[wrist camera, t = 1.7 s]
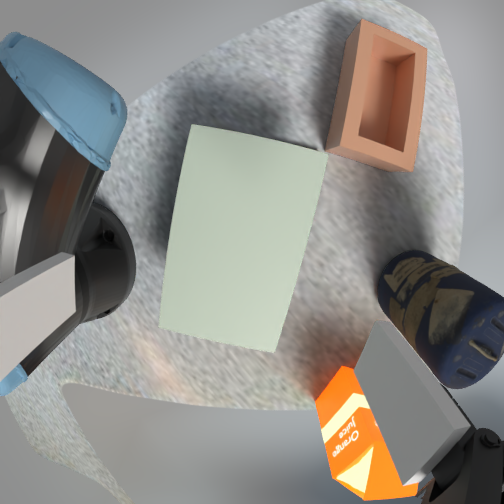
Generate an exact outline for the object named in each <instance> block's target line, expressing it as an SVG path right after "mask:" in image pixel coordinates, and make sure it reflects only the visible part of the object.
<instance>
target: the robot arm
mask: <svg viewBox="0 0 504 504" xmlns="http://www.w3.org/2000/svg"><path fill="white" fill-rule="evenodd" d="M126 120H127V107H126V104H125V101H124V99H123V98H122V97H121V95H120V94H119V93H118V92H117V91H116V90H115V89H114V88H112V87H111V86H110V85H109V84H107V83H106V82H104V81H103V80H102V79H100V78H99V77H98V76H96V75H94V74H93V73H92V72H90V71H89V70H88V69H86V68H85V67H83V66H82V65H80V64H78V63H77V62H75V61H74V60H72V59H70V58H69V57H67V56H66V55H63V54H62V53H60V52H59V51H57V50H55V49H53V48H51V47H49V46H48V45H46V44H44V43H42V42H40V41H38V40H36V39H33V38H30V37H27V36H24V35H21V34H20V33H18V32H12V33H10V34H8V35H7V36H6V37H5V39H4V40H3V41H1V42H0V396H5V395H7V394H9V393H10V392H12V391H13V390H14V389H15V388H16V387H18V386H19V385H20V384H21V383H23V382H25V381H26V380H27V379H28V378H27V377H28V376H29V375H30V374H31V373H32V372H33V371H34V370H35V369H36V368H37V366H38V365H39V364H40V363H41V362H42V361H43V360H44V359H45V358H46V357H47V356H48V355H49V354H50V353H51V352H52V351H53V350H54V349H55V348H56V347H57V346H58V345H59V344H60V343H61V342H62V341H63V340H64V339H65V338H66V337H67V336H68V335H69V334H70V333H71V332H72V331H73V330H74V329H75V328H76V327H77V326H78V325H79V324H81V323H85V322H88V321H92V320H95V319H99V318H102V317H105V316H107V315H109V314H111V313H112V312H114V311H115V310H116V309H117V308H118V307H119V306H120V305H121V304H122V303H123V302H124V301H125V300H126V299H127V297H128V296H129V294H130V292H131V290H132V287H133V284H134V281H135V275H136V260H135V254H134V249H133V246H132V243H131V240H130V238H129V235H128V233H127V231H126V230H125V228H124V226H123V225H122V224H121V222H120V221H119V220H118V219H117V217H116V216H115V215H114V214H113V213H111V212H110V211H109V210H108V209H106V208H105V207H103V206H101V205H99V204H97V203H94V202H92V201H93V199H94V196H95V194H96V191H97V189H98V186H99V184H100V182H101V179H102V177H103V175H104V172H105V171H108V170H109V168H110V166H111V163H110V159H111V156H112V154H113V151H114V149H115V147H116V144H117V142H118V140H119V137H120V135H121V133H122V131H123V128H124V126H125V123H126ZM353 372H354V374H355V376H356V378H357V380H358V383H359V385H360V387H361V389H362V391H363V394H364V396H365V398H366V400H367V402H368V405H369V407H370V409H371V412H372V414H373V416H374V418H375V421H376V423H377V425H378V428H379V430H380V432H381V435H382V437H383V439H384V442H385V444H386V446H387V449H388V451H389V454H390V456H391V458H392V461H393V463H394V466H395V468H396V471H397V473H398V476H399V478H400V481H401V483H402V486H405V485H410V484H414V483H418V482H421V480H423V479H424V478H425V477H426V476H427V475H428V474H429V473H430V472H432V474H433V476H434V478H433V479H432V480H431V481H430V482H428V484H427V485H425V486H424V487H423V488H422V489H421V490H420V491H419V492H418V493H417V494H416V495H415V497H418V496H419V495H420V494H422V493H423V492H424V491H426V492H425V494H424V496H423V497H422V498H421V499H423V500H422V503H421V504H504V492H502V486H503V485H504V441H501V439H500V438H499V436H498V435H497V434H496V433H495V432H493V431H492V430H490V429H486V428H479V429H478V430H476V428H475V427H474V425H473V424H472V422H471V421H470V420H469V418H468V417H467V415H466V414H465V413H464V411H463V410H462V409H461V407H460V406H458V403H457V402H456V401H455V399H453V398H452V395H451V394H450V393H449V391H448V390H447V389H446V388H445V387H444V386H443V385H442V384H440V383H439V382H438V381H437V379H436V378H435V377H434V376H433V374H432V373H431V372H430V370H429V369H428V368H427V367H426V365H425V364H424V363H423V362H422V360H421V359H420V358H419V357H418V355H417V354H416V353H415V352H414V350H413V349H412V348H411V347H410V345H409V344H408V343H407V342H406V341H405V339H404V338H403V337H402V336H401V335H400V333H399V332H398V331H397V330H396V329H395V327H394V326H393V325H392V324H391V323H390V322H386V321H379V320H376V321H375V323H374V325H373V328H372V330H371V333H370V335H369V337H368V340H367V342H366V344H365V347H364V349H363V351H362V353H361V355H360V358H359V360H358V362H357V364H356V366H355V368H354V370H353Z"/></svg>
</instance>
